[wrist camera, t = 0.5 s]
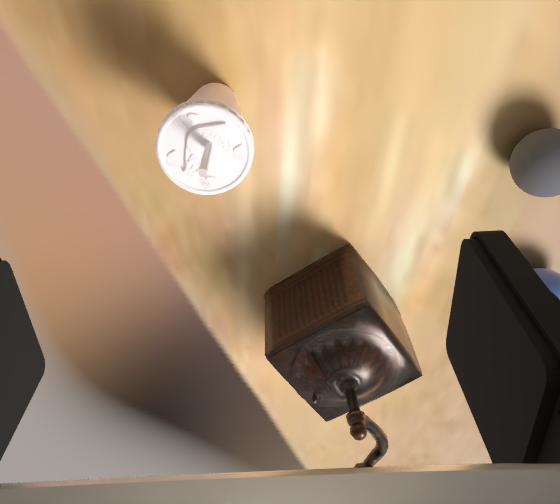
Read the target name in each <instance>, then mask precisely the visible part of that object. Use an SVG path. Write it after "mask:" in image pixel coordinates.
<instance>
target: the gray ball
mask: <svg viewBox="0 0 560 504" xmlns="http://www.w3.org/2000/svg"><path fill="white" fill-rule="evenodd" d="M510 173H511V176H512V178H513V180H514V182H515V183H516V185H517V186H518V187H519V188H520V189H522V190H523V191H524V192H526V193H528V194H530V195H533V196H537V197H553V196H557V195H560V129H555V128H546V129H540V130H537V131H534V132H532V133H530V134H528V135H527V136H525V137H524V138H523V139H522V140H521V141H520V142H519V143H518V144H517V145H516V146H515V148H514V150H513V152H512V155H511V158H510Z"/></svg>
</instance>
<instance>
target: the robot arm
mask: <svg viewBox="0 0 560 504" xmlns="http://www.w3.org/2000/svg"><path fill="white" fill-rule="evenodd" d="M446 349H447V354H448V357H449V360H450V362H451V364H452V367H453V369H454V372H455V374H456V376H457V379H458V381H459V384H460V386H461V388H462V391H463V393H464V396H465V398H466V400H467V403H468V405H469V408H470V410H471V412H472V415H473V417H474V420H475V422H476V424H477V427H478V429H479V431H480V434H481V436H482V439H483V441H484V443H485V446H486V448H487V451H488V453H489V455H490V458H491V460H492V463H493V464H454V465H414V466H388V467H362V468H336V469H311V470H289V471H288V470H286V471H261V472H239V473H215V474H193V475H171V476H170V475H169V476H149V477H148V476H147V477H128V478H127V477H125V478H104V479H83V480H63V481H46V482H45V481H44V482H24V483H3V484H0V504H560V300H559V298H558V297H557V296H556V295H555V294H554V293H553V292H551V291H550V290H549V289H548V287H547V286H546V285H545V284H544V282H543V281H542V280H541V278H540V277H539V276H538V274H537V273H536V272H535V271H534V269H533V268H532V267H531V265H530V264H529V263H528V261H527V260H526V259H525V258H524V256H523V255H522V254H521V252H520V251H519V250H518V248H517V247H516V246H515V245H514V243H513V242H512V241H511V239H510V238H509V237H508V235H507V234H506V233H505V232H504V231H479V232H473V233H472V235H471V237H470V239H464V240H463V241H462V244H461V249H460V255H459V262H458V268H457V274H456V281H455V287H454V293H453V299H452V306H451V312H450V318H449V325H448V331H447V337H446ZM44 369H45V359H44V356H43V353H42V350H41V348H40V345H39V342H38V339H37V337H36V334H35V331H34V329H33V326H32V323H31V320H30V318H29V315H28V312H27V309H26V307H25V304H24V301H23V298H22V296H21V293H20V290H19V288H18V285H17V282H16V279H15V277H14V274H13V271H12V269H11V266H10V264H9V263H8V262H7V261H2V260H1V258H0V460H1V458H2V456H3V454H4V452H5V450H6V448H7V446H8V444H9V442H10V440H11V438H12V436H13V434H14V432H15V430H16V428H17V426H18V424H19V422H20V420H21V418H22V416H23V414H24V412H25V410H26V408H27V406H28V404H29V402H30V400H31V398H32V396H33V394H34V392H35V390H36V388H37V386H38V384H39V382H40V380H41V378H42V376H43V374H44Z"/></svg>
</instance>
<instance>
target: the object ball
mask: <svg viewBox="0 0 560 504" xmlns="http://www.w3.org/2000/svg"><path fill="white" fill-rule="evenodd" d="M533 269H534V271H535V272H536V273H537V274H538V276H539V277H540V278H541V280H542V281H543V282H544V284H545V285H546V286H547V287H548V289H549V290H550V291H551V292H553V293H554V294H555V295H556V296H557V297H558V298H559V300H560V274H558V273H557V272H555V271H553V270H550V269H545V268H533Z"/></svg>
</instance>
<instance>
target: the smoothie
mask: <svg viewBox="0 0 560 504" xmlns="http://www.w3.org/2000/svg"><path fill="white" fill-rule="evenodd" d="M156 153H157V157H158V161H159V163H160V165H161V167H162V169H163V171H164V172H165V174H166V175H167V176H168V177H169V178H170V179H171V180H172V181H173V182H174V183H175V184H177V185H178V186H179V187H181V188H183V189H185V190H187V191H190V192H193V193H197V194H204V195H212V194H219V193H222V192H225V191H228V190H230V189H232V188H233V187H235V186H236V185H237V184H239V183H240V182H241V181H242V180H243V179H244V177H245V176H246V174H247V173H248V171H249V169H250V166H251V163H252V159H253V154H254V140H253V137H252V133H251V130H250V128H249V126H248V124H247V123H246V121H245V120H244V118H243V116H242V112H241V109H240V105H239V102H238V98H237V96H236V94H235V93H234V92H233V90H232V89H231V88H229V87H228V86H226V85H224V84H221V83H208V84H205V85H204V86H202V87H201V88H199V89H198V90H197V91H196V92H195V93H194V94H193V95H192V97H191V98H190V99H189V100H188V101H186V102H183V103H181V104H180V105H178V106H176V107H175V108H173V109H172V110H171V111H170V112H169V113H168V114H167V115H166V116H165V118H164V119H163V121H162V123H161V125H160V128H159V130H158V135H157V140H156Z"/></svg>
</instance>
